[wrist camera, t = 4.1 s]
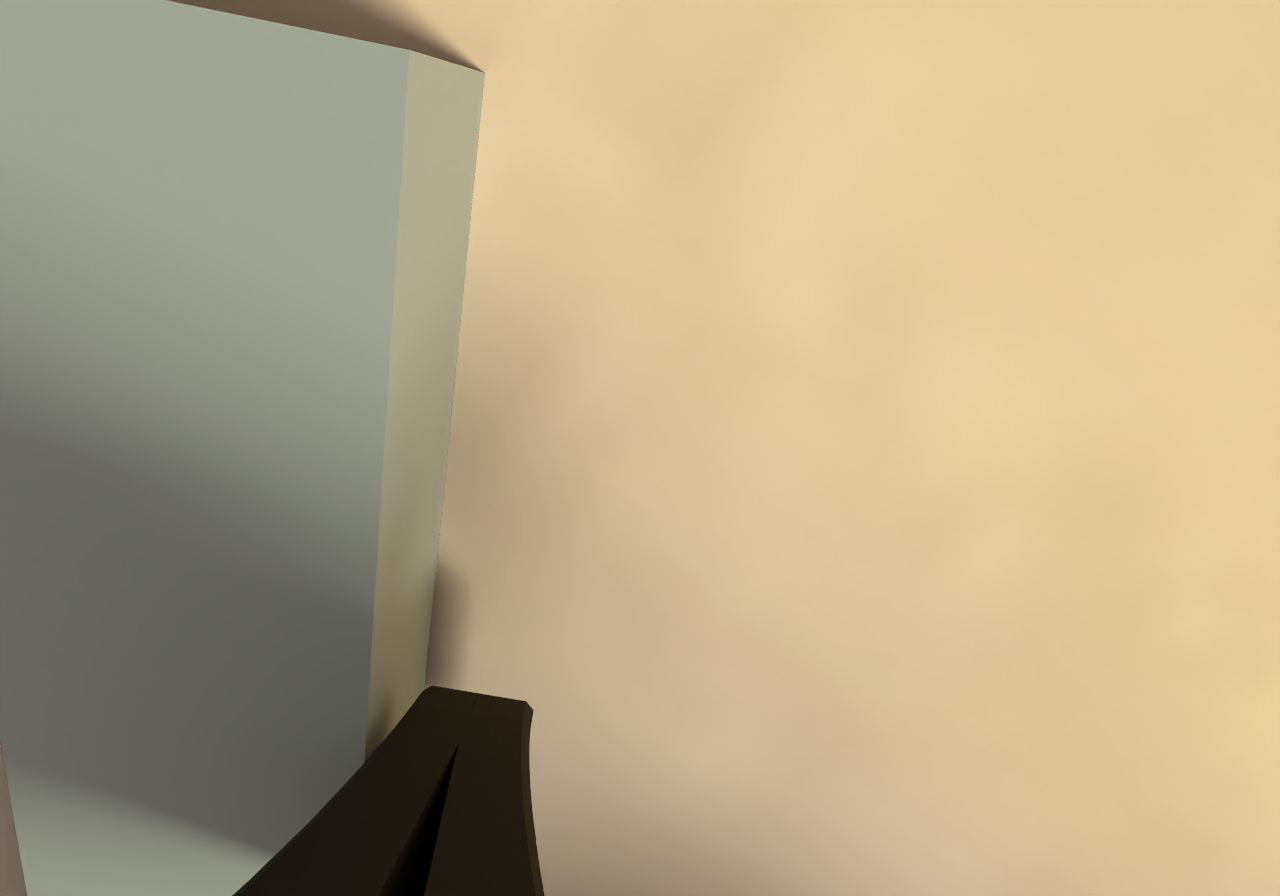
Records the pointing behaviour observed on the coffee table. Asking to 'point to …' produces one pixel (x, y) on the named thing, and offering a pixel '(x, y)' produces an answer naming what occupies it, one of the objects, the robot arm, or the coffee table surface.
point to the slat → (215, 425)
